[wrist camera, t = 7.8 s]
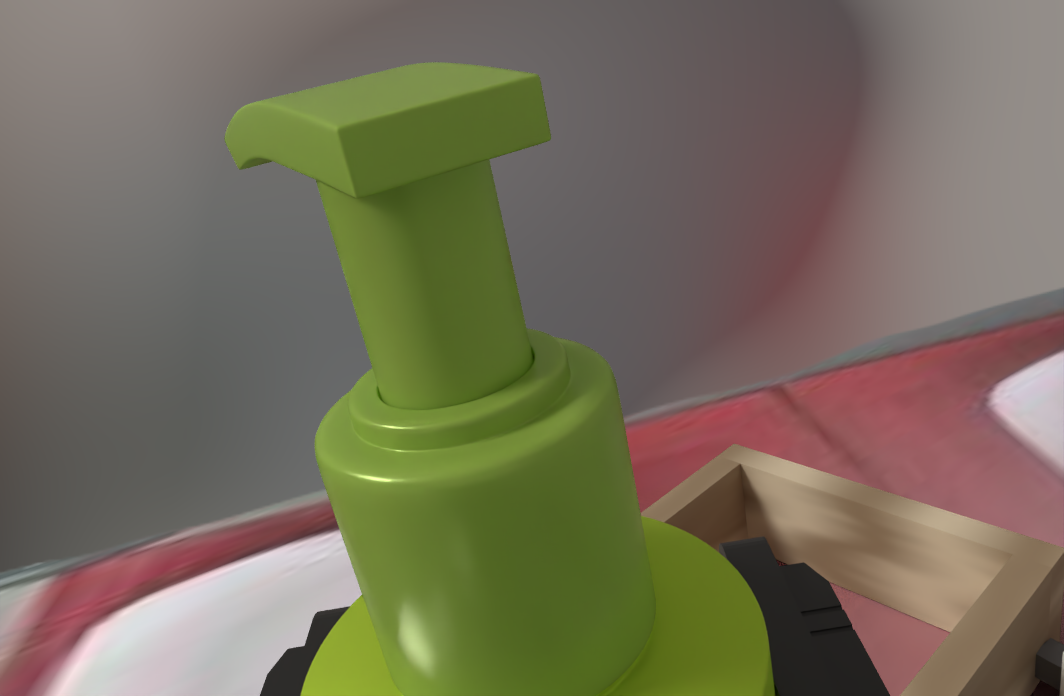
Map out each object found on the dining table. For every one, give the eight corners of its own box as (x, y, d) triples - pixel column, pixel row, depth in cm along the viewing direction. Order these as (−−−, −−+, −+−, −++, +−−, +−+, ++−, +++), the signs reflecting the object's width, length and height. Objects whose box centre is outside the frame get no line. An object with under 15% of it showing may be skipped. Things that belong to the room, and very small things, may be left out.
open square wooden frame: (534, 702, 32) (511, 609, 31) (742, 526, 40) (734, 443, 38) (864, 947, 22) (857, 831, 21) (1059, 652, 30) (1066, 548, 28)
